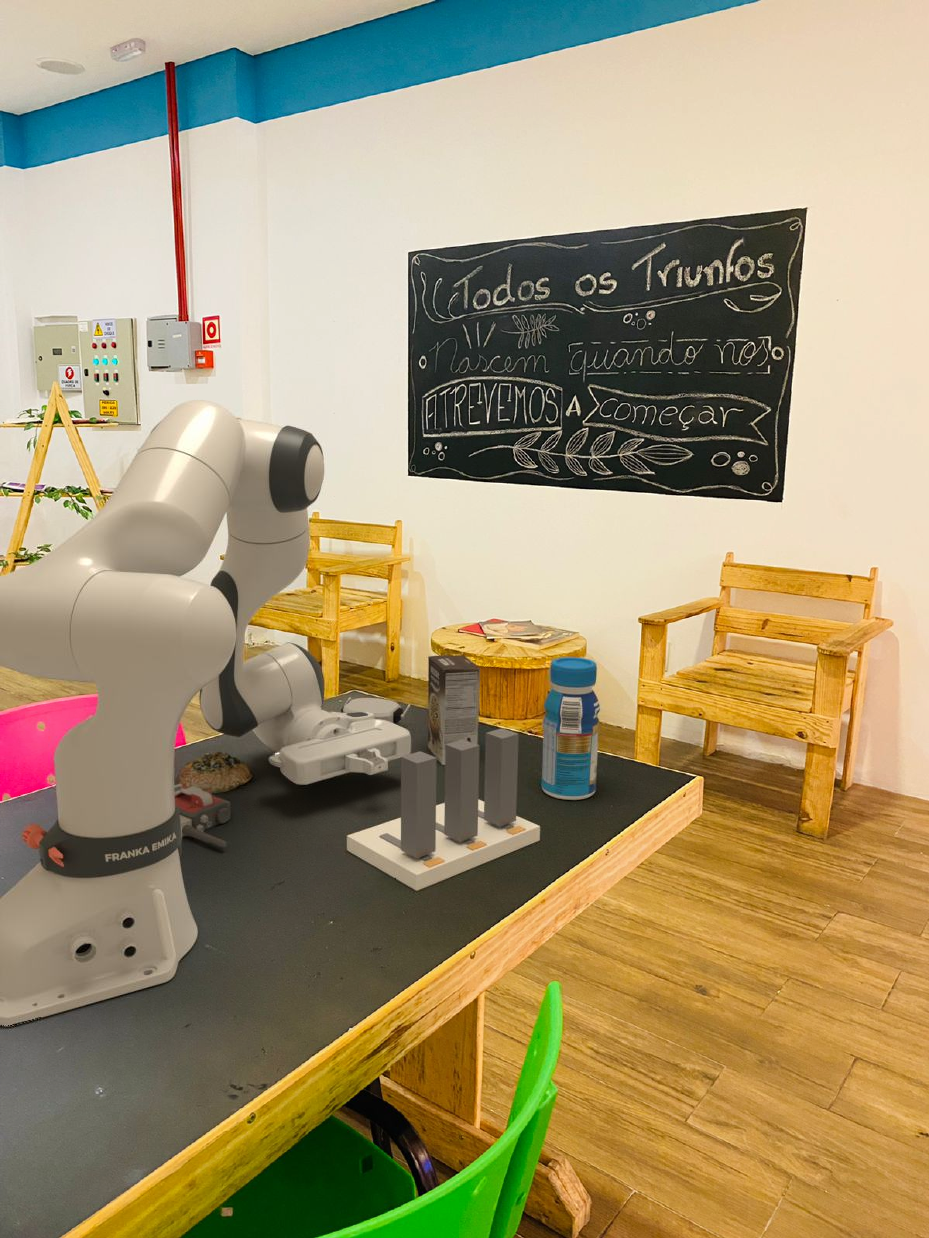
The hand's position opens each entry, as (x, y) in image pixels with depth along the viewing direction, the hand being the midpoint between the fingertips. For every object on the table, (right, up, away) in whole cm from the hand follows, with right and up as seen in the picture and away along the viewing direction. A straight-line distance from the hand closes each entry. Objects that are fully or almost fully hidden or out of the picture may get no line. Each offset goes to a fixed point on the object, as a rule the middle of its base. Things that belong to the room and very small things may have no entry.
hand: (379, 767), depth 128 cm
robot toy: (-6, 0, +36) cm, 36 cm away
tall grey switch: (+6, -7, -16) cm, 19 cm away
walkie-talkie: (-25, -8, -3) cm, 26 cm away
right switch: (+16, -6, -7) cm, 19 cm away
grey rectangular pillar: (+11, -7, -12) cm, 18 cm away
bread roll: (-26, -4, +12) cm, 29 cm away
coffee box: (+10, -2, +25) cm, 27 cm away
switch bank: (+9, -9, -9) cm, 15 cm away
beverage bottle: (+27, -5, +10) cm, 30 cm away
